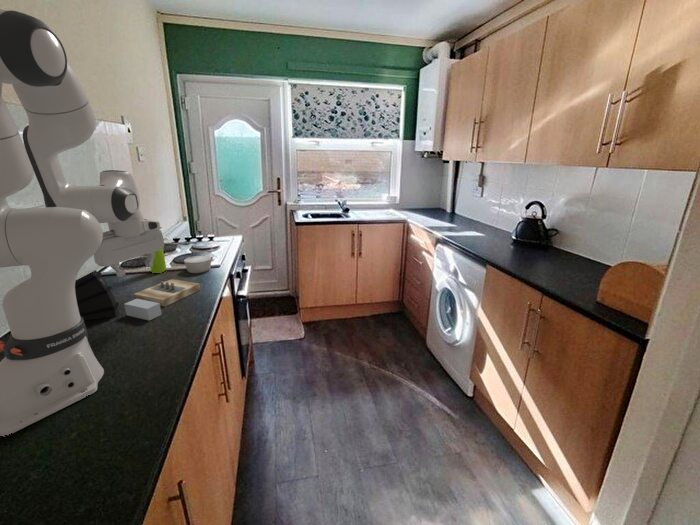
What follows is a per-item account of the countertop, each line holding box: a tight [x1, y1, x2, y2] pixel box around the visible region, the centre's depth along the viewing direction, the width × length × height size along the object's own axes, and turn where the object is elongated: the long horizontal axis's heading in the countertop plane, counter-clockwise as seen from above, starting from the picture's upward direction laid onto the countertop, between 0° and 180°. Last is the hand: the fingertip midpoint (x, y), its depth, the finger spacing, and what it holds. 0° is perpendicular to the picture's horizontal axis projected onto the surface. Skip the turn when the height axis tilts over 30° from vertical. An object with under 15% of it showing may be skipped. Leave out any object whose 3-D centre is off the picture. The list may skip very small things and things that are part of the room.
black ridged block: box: [75, 269, 120, 321], centre depth 105 cm, size 4×13×15 cm, turn 107°
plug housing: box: [123, 298, 162, 322], centre depth 107 cm, size 10×4×4 cm, turn 69°
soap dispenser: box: [150, 226, 167, 274], centre depth 145 cm, size 6×7×20 cm
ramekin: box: [183, 255, 212, 274], centre depth 150 cm, size 11×11×5 cm
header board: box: [133, 278, 202, 307], centre depth 123 cm, size 16×14×5 cm
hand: (136, 271), depth 104 cm, fingers open, 8 cm apart
